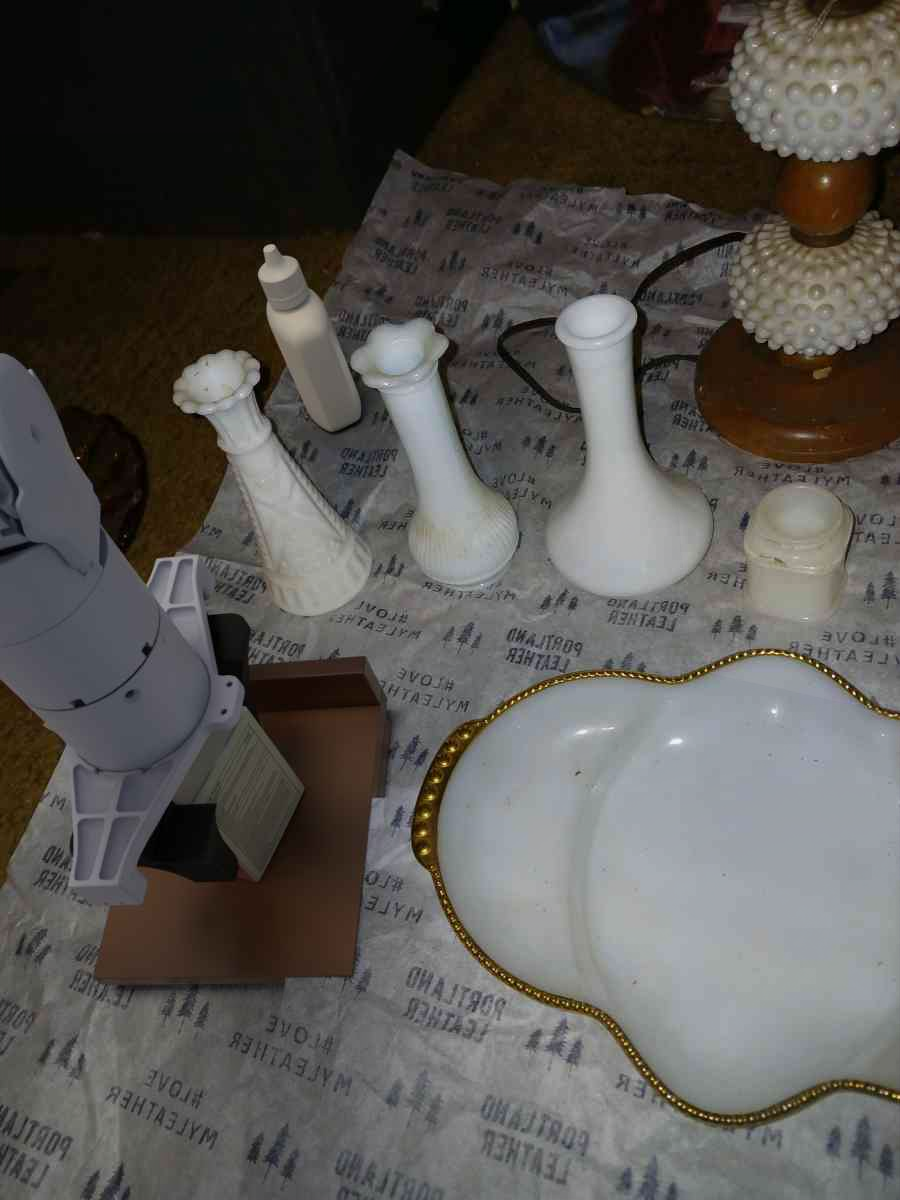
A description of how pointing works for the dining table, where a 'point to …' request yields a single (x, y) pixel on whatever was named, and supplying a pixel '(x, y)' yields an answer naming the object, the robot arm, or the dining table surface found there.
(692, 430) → the dining table surface
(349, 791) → the shelf
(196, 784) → the small box
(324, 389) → the eye dropper bottle
